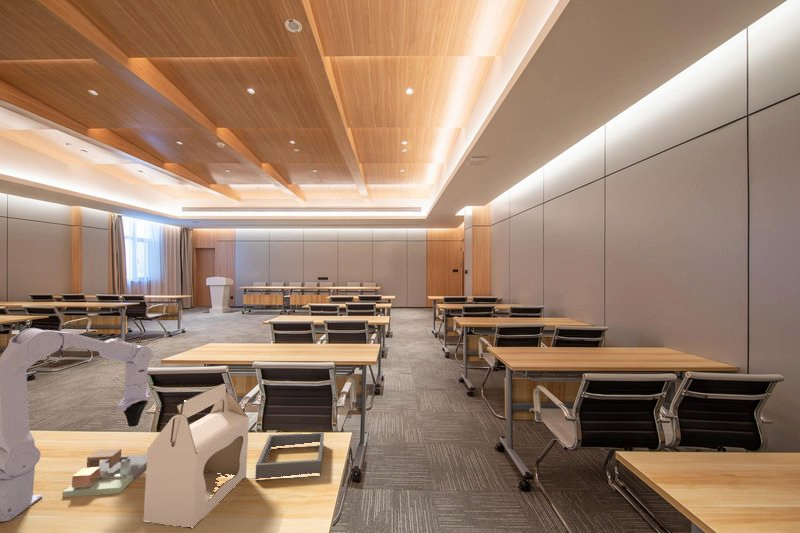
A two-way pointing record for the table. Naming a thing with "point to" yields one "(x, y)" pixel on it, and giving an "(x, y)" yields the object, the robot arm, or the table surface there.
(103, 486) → the track
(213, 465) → the gable box
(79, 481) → the sled
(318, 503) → the table surface
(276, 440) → the tray
